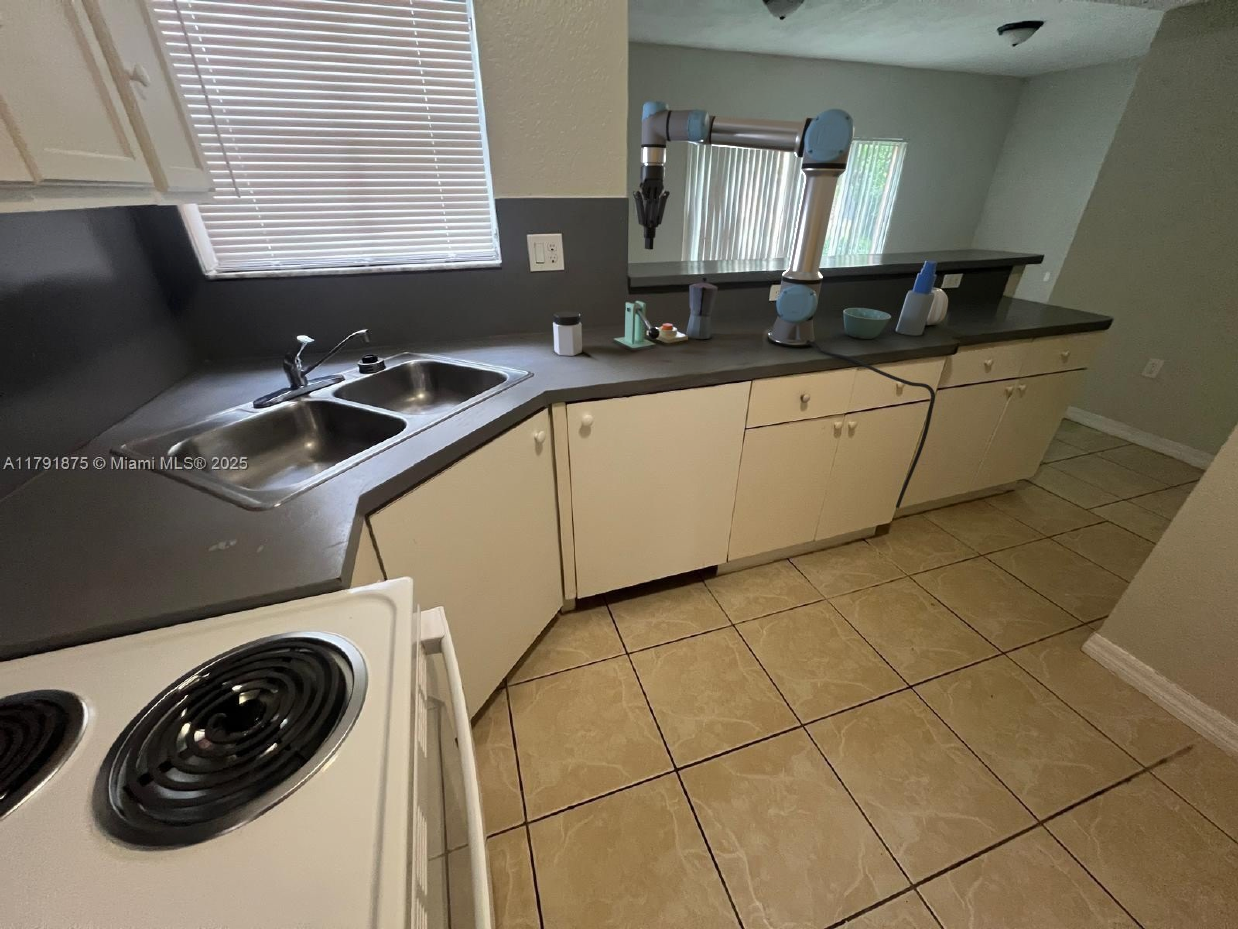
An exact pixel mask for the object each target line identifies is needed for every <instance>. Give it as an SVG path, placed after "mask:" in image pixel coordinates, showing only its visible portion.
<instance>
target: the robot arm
mask: <svg viewBox="0 0 1238 929" xmlns="http://www.w3.org/2000/svg"><path fill="white" fill-rule="evenodd" d="M669 106H670V105H669V103H668V102H666V101H658V100H653V101H652V100H651V101H646V102H645V103H644V104H643V107H642V116H641V146H640V163H641V164H642V165H641V166H640V167H639V169H640V170H639V171H640V172H639V173H640V174H639V178H640V183H639V186H638V189H636V190H633V191H632V196H633V197H634V202H635V208H636V214H637V223H638V225H639V226H641V227H643V238H644V249H645V250H650V251H651V250H654V243H655V242H654V240H655V238H656V231H657V228H658V227H659V225H662V222H663V218H664V214H665V210H666V205H667V200H668V199H669V196H670V194H671V193H670V191H669V190H666V189H665V185H664V180H665V177H666V176H665V175H666V174H665V173H666V167H665V164H666V162H667V161H666V159H667V142H671V143H673V142H679V143H680V142H683V143H690V144H692V145H694V146H715V147H725V148H736V149H738V148H739V149H746V150H747V149H748V150H760V151H770V152H780V153H781V152H782V153H791V154H792V153H793V154H794V155H795V156H796V158H802V162H801V166H800V167H801V168H800V171H801V173H802V175H803V177H804V181H803V182H804V183H803V188H802V193H801V197H800V198H801V199H800V204H799V210H798V215H797V221H796V226H795V227H796V228H795V232H794V238H793V243H792V248H791V255H790V259H789V265H788V269H787V270H786V271H784V272H783V273H782V276H781V281H780V286H779V293H778V296H777V298H776V304H775V307H776V311H777V316H776V319H775V321H774V323H773V325H772V327H771V329H770V331H769V333H768V337H767V340H768V342H770V343H772V344H773V345H776V346H781V347H785V348H795V349H802V348H808V347H813V348H814V349H816V350H817V351H819V352H820V353H823V354H824V355H827V356H831V357H834V358H839V359H842V360H847V361H848V362H852V363H854V364H857V365H859V366H861V367H863V368H865V369H868V370H870V371H873V372H875V373H877V374H879V375H881V376H884V377H886V378H888V379H890V380H893V381H896V382H899V383H901V384H904V385H907V386H910V387H920V388H925V389H926V390H927V391H928V392H929V394H930V401H929V404H928V405H929V406H928V410H927V414H926V419H925V420H926V421H925V424H924V429H923V432H922V435H921V439H920V442H919V445H918V448H917V451H916V454H915V457H914V459H913V461H912V464H911V466H910V469H909V471H908V474H907V476H906V478H905V480H904V483H903V486H902V489H901V491H900V494H899V496H898V498H897V501H896V505H895V508H896V509H900V506H901V504H902V501H903V498H904V495H905V493H906V490H907V488H908V485H909V483H910V481H911V478H912V476H913V473H914V471H915V469H916V466H917V464H918V462H919V459H920V456H921V454H922V451H923V448H924V446H925V442H926V440H927V436H928V432H929V429H930V425H931V421H932V414H933V409H934V405H935V403H936V402H935V401H936V393H935V390H934V388H933V387H932V386H931V385H929V384H927V383H923V382H913V381H909V380H906V379H903V378H900V377H899V376H895V375H894V374H893V375H892V374H891V373H888V372H885V371H883V370H880V369H878V368H876V367H874V366H872V365H870V364H868V363H865V362H863V361H860V360H858V359H856V358H853V357H850V356H847V355H843V354H840V353H835V352H831V351H828V350H825V349H823V348H822V347H821V346H819V345H817V344H816V343H814V342H815V333H814V332H815V331H814V316H815V313H816V311H817V309H818V305H819V296H820V292H821V287H822V283H823V279H824V278H823V277H824V276H823V275H822V273H821V272H820V266H821V261H822V257H823V252H824V248H825V242H826V237H827V232H828V228H829V223H830V218H831V214H832V210H833V204H834V200H835V195H836V191H837V185H838V180H839V177H840V176H841V175H842V174H844V173H845V172H846V170H847V165H848V162H849V157H850V152H851V148H852V143H853V141H854V138H855V132H856V127H855V122H854V119H853V117H852V116H851V115H850V114H849V112H847V111H846V110H843V109H841V108H829V109H827V110H824V111H822V112H820V113H819V114H817V115H816V116H815V117H805V118H804V119H803V120H801V121H794V120H781V119H780V120H779V119H764V118H752V117H751V118H750V117H749V118H748V117H735V116H721V115H709V112H708V111H707V110H706V109H697V108H694V109H681V110H673V109H670V108H669Z"/></svg>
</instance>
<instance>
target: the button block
mask: <svg viewBox="0 0 1238 929" xmlns="http://www.w3.org/2000/svg"><path fill="white" fill-rule="evenodd" d="M657 328H658V329H659V331H660V335H659V337H658V338H656V339H655V340H658V341H660V342H663V343H665V344H671V343H677V342H683V341H688V340H689V337H688V336H687V335H686V333H682V332H680V331H678V328H677V327H675V326H673V330H663V329H662V326H659V327H657ZM648 332H649V330H646V336H649V335H648Z"/></svg>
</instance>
